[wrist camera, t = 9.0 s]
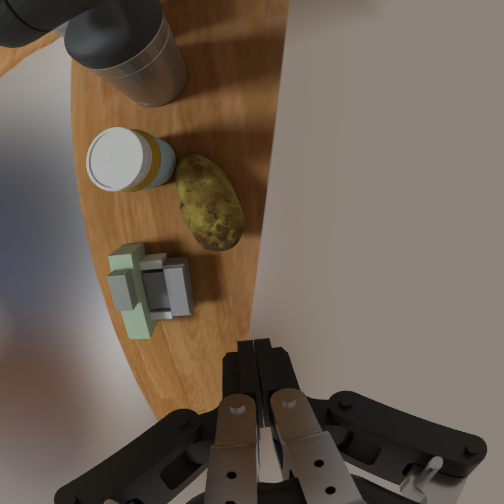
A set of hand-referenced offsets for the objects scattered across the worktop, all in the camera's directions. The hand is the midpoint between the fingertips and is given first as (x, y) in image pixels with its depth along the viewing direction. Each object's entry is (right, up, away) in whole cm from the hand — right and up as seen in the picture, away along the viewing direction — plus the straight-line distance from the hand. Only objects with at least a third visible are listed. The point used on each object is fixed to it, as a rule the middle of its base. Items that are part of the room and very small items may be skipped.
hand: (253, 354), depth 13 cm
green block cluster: (-15, 0, +29) cm, 33 cm away
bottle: (-14, +18, +24) cm, 33 cm away
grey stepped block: (-13, 0, +29) cm, 31 cm away
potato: (-6, +13, +26) cm, 30 cm away
